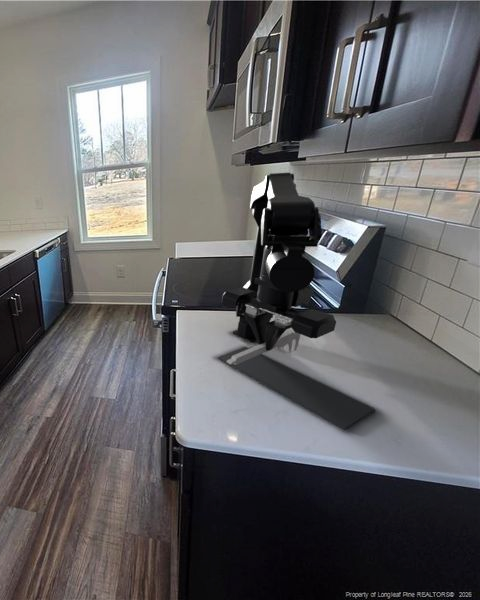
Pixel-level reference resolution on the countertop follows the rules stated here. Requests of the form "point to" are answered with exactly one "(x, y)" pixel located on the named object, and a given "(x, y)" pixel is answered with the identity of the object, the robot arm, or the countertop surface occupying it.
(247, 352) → the caliper
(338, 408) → the mat
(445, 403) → the countertop surface
